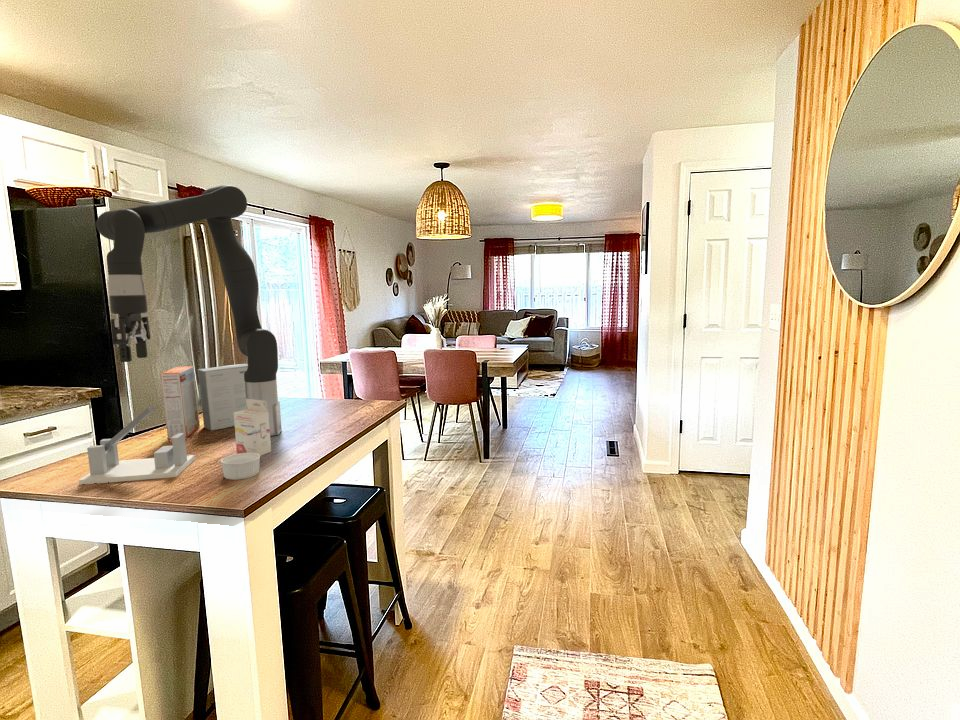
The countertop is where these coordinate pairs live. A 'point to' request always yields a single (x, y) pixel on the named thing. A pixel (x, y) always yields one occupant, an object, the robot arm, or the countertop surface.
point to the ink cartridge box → (253, 428)
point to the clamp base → (137, 463)
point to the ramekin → (240, 465)
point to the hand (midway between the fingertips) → (134, 359)
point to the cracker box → (180, 401)
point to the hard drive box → (222, 394)
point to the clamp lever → (128, 428)
